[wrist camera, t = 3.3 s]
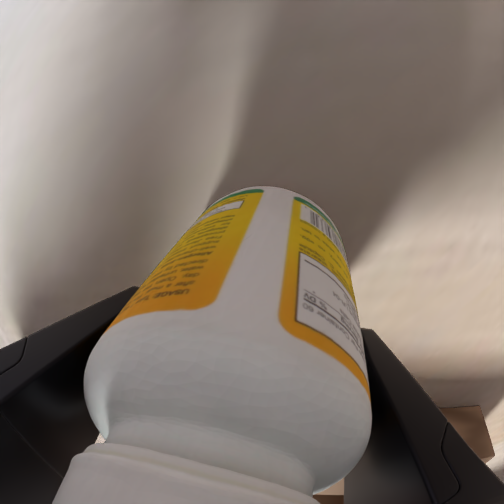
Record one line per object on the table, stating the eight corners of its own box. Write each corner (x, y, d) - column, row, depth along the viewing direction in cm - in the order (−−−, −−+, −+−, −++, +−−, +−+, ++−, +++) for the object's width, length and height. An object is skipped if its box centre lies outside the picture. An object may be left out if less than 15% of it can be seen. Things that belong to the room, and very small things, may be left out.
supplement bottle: (363, 204, 9) (477, 559, 1) (317, 329, 12) (303, 583, 3) (199, 167, 10) (-70, 420, 1) (186, 299, 12) (73, 525, 4)
